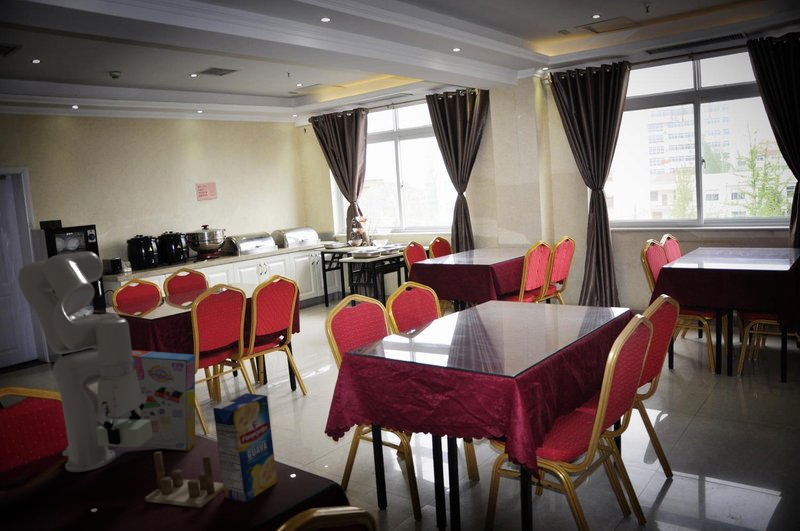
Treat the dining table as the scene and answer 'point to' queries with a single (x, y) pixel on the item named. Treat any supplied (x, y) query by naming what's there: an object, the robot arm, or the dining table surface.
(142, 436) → the pale green rectangular block
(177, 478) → the rack
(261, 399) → the beverage box
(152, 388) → the game box
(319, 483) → the dining table surface
